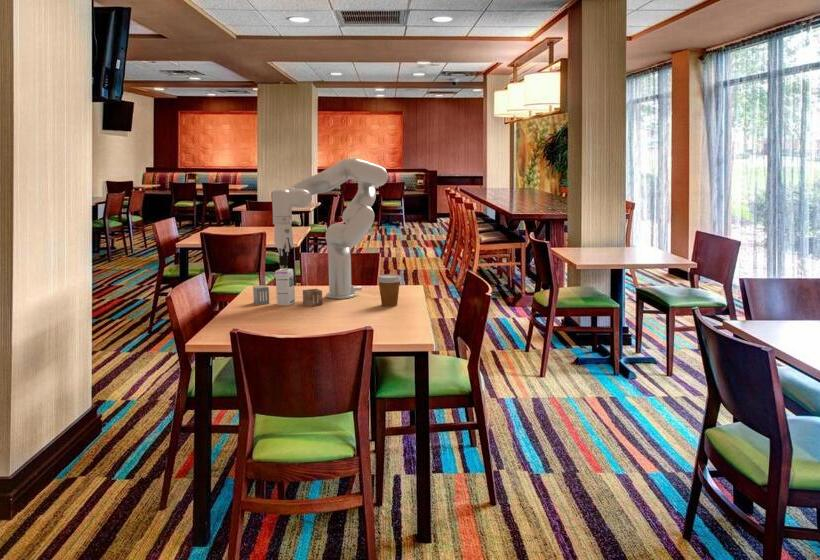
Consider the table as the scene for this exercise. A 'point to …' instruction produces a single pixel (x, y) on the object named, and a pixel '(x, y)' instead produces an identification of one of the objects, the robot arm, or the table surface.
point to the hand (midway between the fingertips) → (283, 265)
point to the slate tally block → (261, 295)
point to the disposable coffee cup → (389, 289)
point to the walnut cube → (312, 297)
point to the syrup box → (285, 287)
